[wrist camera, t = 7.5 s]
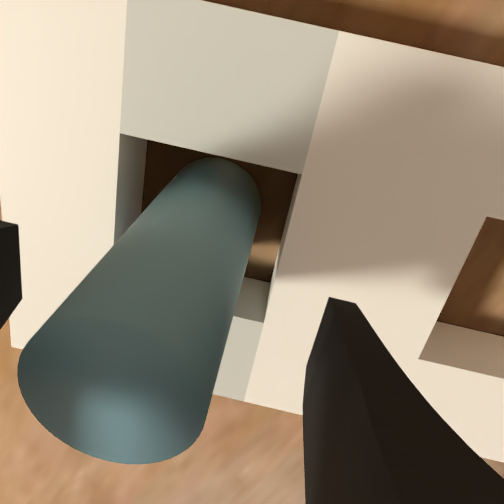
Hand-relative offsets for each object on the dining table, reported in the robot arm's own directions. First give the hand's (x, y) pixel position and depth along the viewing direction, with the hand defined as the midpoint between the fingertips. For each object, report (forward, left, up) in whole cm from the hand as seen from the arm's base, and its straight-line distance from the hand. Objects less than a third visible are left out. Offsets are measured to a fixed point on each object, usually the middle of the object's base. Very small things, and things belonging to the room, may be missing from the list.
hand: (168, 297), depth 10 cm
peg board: (-5, 0, -6) cm, 8 cm away
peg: (0, 0, -6) cm, 6 cm away
